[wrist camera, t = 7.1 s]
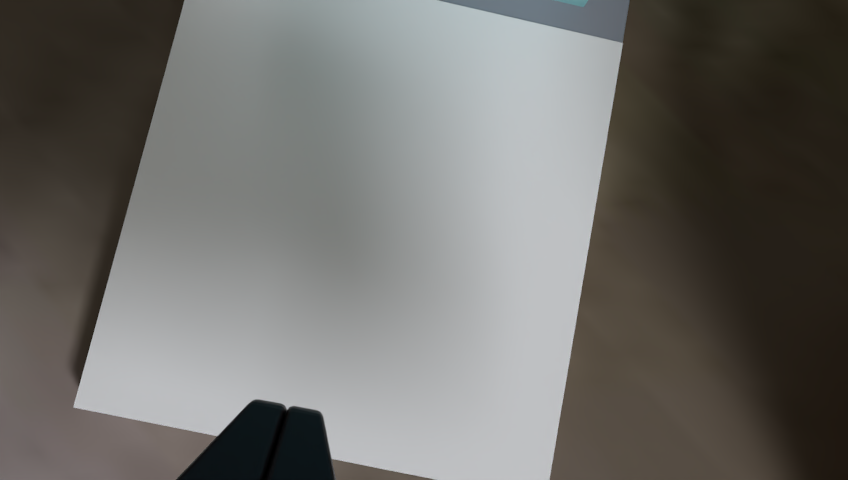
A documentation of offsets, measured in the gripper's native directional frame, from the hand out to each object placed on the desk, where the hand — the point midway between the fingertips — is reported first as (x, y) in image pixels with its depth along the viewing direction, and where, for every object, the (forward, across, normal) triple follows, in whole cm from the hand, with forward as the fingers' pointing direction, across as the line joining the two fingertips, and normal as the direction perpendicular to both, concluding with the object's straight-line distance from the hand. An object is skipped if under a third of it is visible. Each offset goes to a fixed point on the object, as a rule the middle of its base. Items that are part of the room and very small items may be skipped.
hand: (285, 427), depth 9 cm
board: (+11, 0, 0) cm, 11 cm away
